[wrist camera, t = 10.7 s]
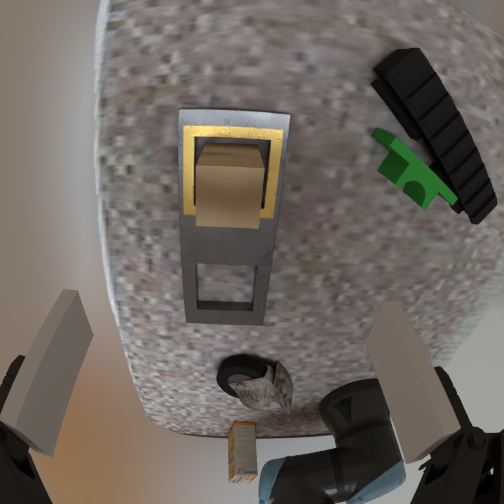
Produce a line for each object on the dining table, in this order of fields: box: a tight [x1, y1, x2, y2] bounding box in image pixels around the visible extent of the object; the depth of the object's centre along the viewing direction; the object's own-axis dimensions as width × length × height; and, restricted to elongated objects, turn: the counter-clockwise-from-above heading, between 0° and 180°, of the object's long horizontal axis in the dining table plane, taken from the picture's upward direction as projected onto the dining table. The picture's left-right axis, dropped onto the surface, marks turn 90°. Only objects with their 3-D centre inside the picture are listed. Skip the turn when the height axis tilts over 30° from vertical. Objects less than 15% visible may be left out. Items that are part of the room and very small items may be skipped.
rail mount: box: [371, 48, 497, 225], centre depth 26 cm, size 21×6×5 cm, turn 46°
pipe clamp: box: [372, 128, 458, 210], centre depth 28 cm, size 11×4×5 cm, turn 59°
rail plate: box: [178, 108, 290, 325], centre depth 32 cm, size 26×10×2 cm, turn 176°
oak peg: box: [196, 143, 265, 229], centre depth 26 cm, size 5×5×8 cm
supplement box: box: [228, 422, 258, 483], centre depth 55 cm, size 8×5×13 cm, turn 167°
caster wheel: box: [216, 356, 294, 414], centre depth 45 cm, size 7×11×10 cm
